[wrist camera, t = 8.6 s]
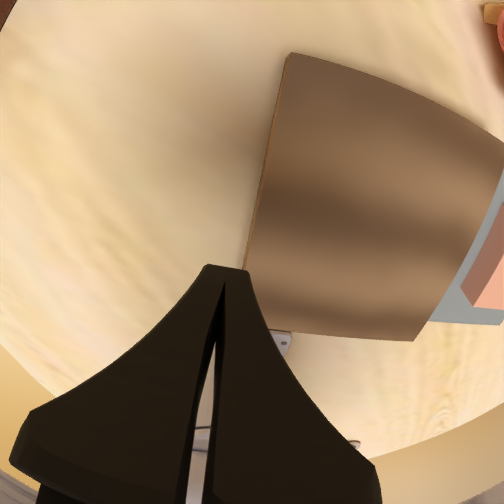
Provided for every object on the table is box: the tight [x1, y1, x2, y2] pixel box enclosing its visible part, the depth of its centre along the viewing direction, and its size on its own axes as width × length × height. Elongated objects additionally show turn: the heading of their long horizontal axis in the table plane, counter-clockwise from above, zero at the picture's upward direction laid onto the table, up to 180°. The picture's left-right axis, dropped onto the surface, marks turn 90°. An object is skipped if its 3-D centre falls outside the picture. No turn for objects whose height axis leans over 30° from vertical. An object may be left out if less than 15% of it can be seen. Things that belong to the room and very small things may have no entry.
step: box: [242, 52, 504, 342], centre depth 17 cm, size 16×14×3 cm
